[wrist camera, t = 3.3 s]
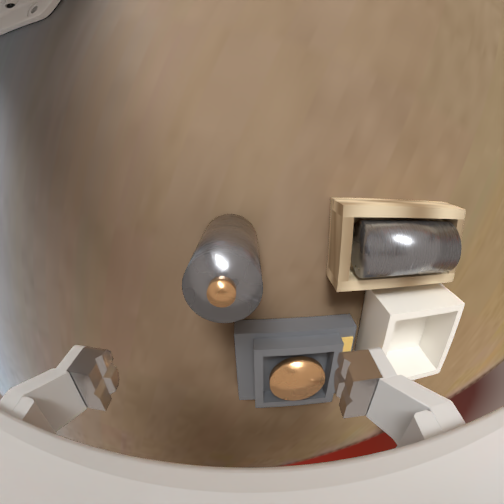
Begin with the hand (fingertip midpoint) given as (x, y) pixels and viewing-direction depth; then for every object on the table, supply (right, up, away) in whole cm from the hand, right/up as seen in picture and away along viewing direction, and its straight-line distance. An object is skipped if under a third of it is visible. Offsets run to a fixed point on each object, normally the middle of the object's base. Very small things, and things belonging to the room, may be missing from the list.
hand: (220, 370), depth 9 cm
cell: (-1, +5, +12) cm, 13 cm away
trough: (+12, +5, +13) cm, 18 cm away
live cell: (+12, +5, +13) cm, 18 cm away
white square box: (+15, -2, +15) cm, 21 cm away
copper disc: (+5, -6, +13) cm, 15 cm away
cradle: (+5, -5, +16) cm, 18 cm away
